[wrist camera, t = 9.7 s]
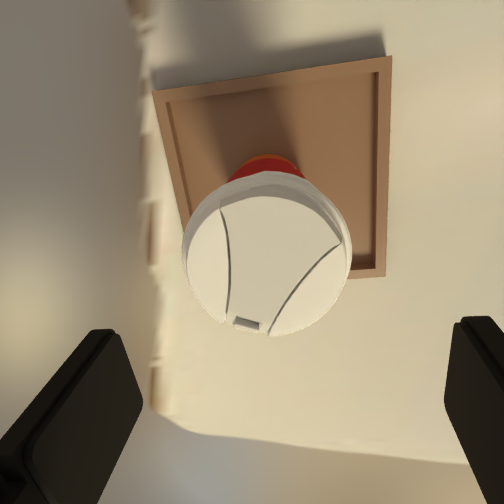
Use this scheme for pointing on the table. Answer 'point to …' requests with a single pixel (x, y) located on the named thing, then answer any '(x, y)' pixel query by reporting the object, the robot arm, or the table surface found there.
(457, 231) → the table surface
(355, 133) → the tray
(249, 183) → the paper cup
